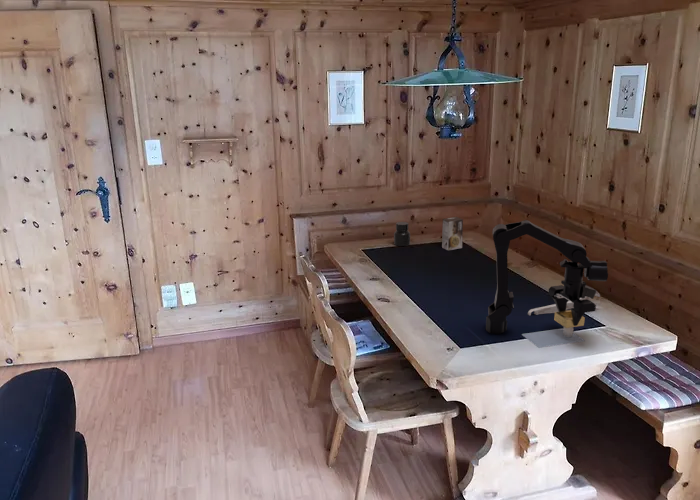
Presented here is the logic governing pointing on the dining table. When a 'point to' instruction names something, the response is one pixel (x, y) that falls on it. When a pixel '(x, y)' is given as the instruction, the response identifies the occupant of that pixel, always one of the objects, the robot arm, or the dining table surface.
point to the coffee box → (452, 233)
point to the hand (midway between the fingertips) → (568, 321)
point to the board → (553, 337)
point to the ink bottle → (402, 234)
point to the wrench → (554, 308)
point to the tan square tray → (567, 319)
